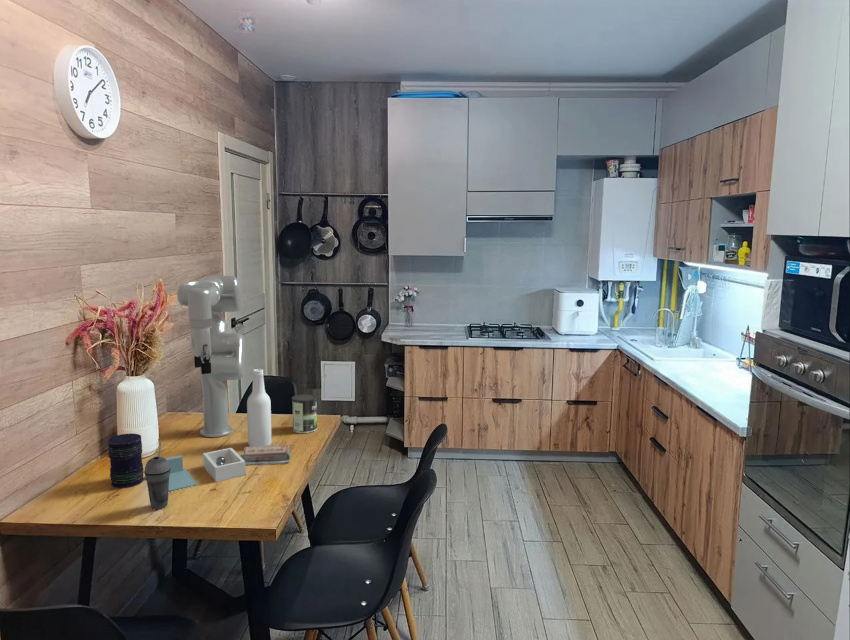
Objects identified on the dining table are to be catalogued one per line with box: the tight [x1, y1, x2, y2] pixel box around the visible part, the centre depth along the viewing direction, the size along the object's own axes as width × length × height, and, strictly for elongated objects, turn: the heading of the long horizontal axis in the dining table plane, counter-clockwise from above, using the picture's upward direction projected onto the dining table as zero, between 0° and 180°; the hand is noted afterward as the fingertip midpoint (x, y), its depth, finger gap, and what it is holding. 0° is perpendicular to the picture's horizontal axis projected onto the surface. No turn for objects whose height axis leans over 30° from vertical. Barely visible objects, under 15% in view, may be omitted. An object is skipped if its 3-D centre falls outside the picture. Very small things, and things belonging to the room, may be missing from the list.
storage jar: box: [107, 433, 145, 489], centre depth 190 cm, size 10×10×15 cm
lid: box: [164, 454, 198, 493], centre depth 192 cm, size 15×10×6 cm
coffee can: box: [291, 393, 318, 434], centre depth 244 cm, size 10×10×14 cm
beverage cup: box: [143, 442, 171, 511], centre depth 174 cm, size 7×7×20 cm
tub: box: [202, 447, 247, 483], centre depth 201 cm, size 15×10×5 cm, turn 36°
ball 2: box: [216, 461, 224, 466], centre depth 200 cm, size 3×3×3 cm
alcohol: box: [246, 368, 272, 447], centre depth 224 cm, size 9×9×30 cm
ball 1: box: [216, 457, 225, 463], centre depth 204 cm, size 3×3×3 cm
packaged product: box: [240, 445, 292, 466], centre depth 212 cm, size 18×5×10 cm
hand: (202, 370), depth 207 cm, fingers open, 9 cm apart
